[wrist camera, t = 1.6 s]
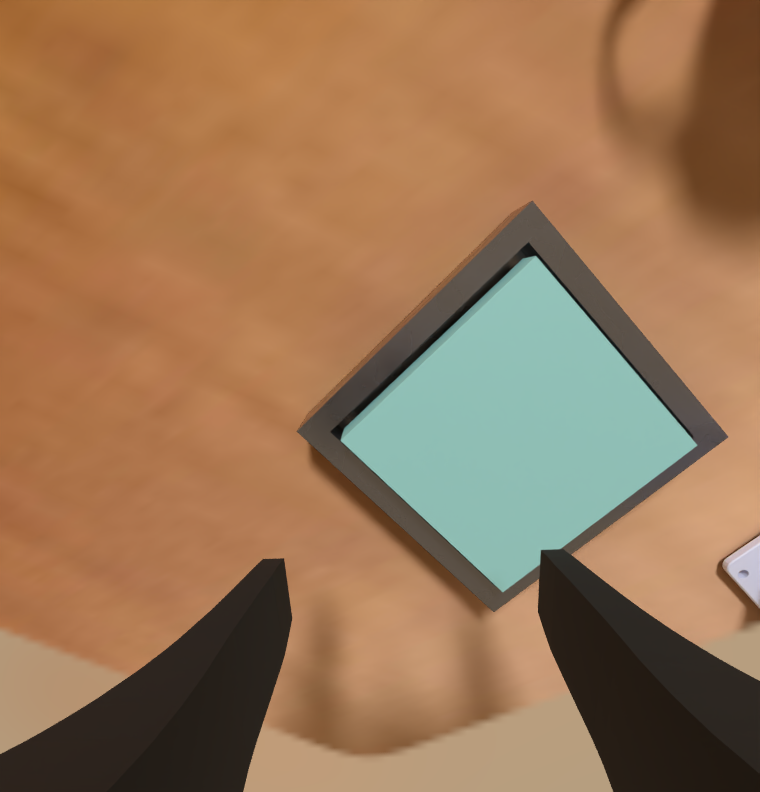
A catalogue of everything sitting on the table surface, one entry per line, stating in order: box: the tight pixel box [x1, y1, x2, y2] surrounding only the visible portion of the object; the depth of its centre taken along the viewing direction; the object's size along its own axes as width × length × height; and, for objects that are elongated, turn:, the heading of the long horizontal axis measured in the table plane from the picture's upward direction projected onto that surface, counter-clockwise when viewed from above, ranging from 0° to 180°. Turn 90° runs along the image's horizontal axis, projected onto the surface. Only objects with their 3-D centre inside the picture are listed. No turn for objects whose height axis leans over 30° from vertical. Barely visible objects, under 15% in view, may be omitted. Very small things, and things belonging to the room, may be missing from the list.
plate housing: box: [297, 201, 728, 612], centre depth 19 cm, size 13×13×2 cm
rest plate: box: [340, 256, 697, 592], centre depth 17 cm, size 10×10×2 cm
